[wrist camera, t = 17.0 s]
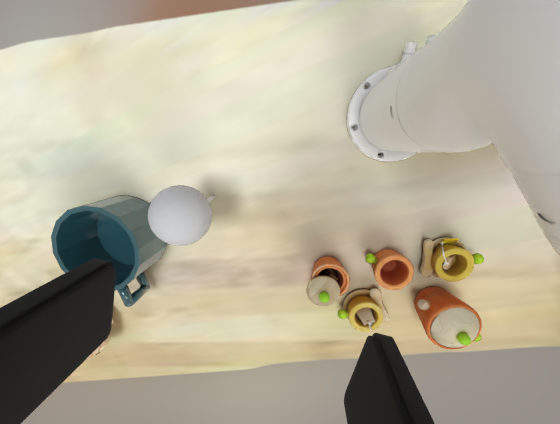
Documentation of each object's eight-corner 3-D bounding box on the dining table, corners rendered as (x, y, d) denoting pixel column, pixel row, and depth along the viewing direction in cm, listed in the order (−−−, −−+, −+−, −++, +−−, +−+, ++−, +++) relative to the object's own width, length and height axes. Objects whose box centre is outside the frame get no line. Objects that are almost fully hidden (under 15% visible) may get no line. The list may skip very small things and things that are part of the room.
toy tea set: (470, 230, 40) (522, 255, 30) (467, 317, 43) (513, 364, 34) (302, 247, 43) (302, 275, 33) (312, 328, 46) (315, 373, 37)
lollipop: (183, 196, 42) (120, 223, 28) (211, 165, 40) (159, 176, 26) (215, 226, 43) (171, 267, 28) (244, 197, 41) (212, 224, 27)
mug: (82, 207, 44) (35, 219, 36) (150, 186, 42) (116, 195, 34) (122, 292, 47) (87, 320, 40) (186, 277, 46) (162, 303, 38)
